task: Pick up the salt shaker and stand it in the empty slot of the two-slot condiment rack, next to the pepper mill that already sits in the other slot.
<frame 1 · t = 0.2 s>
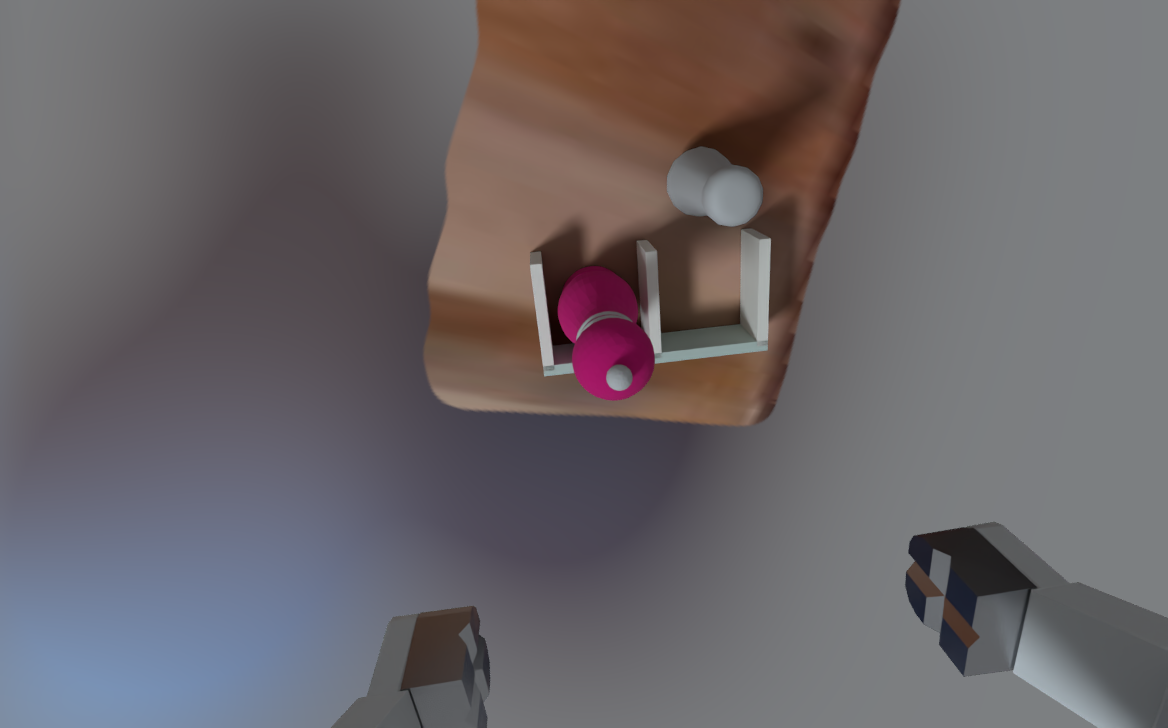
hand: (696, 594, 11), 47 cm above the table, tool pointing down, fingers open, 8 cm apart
condiment rack: (644, 291, 58), on the table
salt shaker: (692, 179, 54), on the table
pepper mill: (593, 296, 58), on the table
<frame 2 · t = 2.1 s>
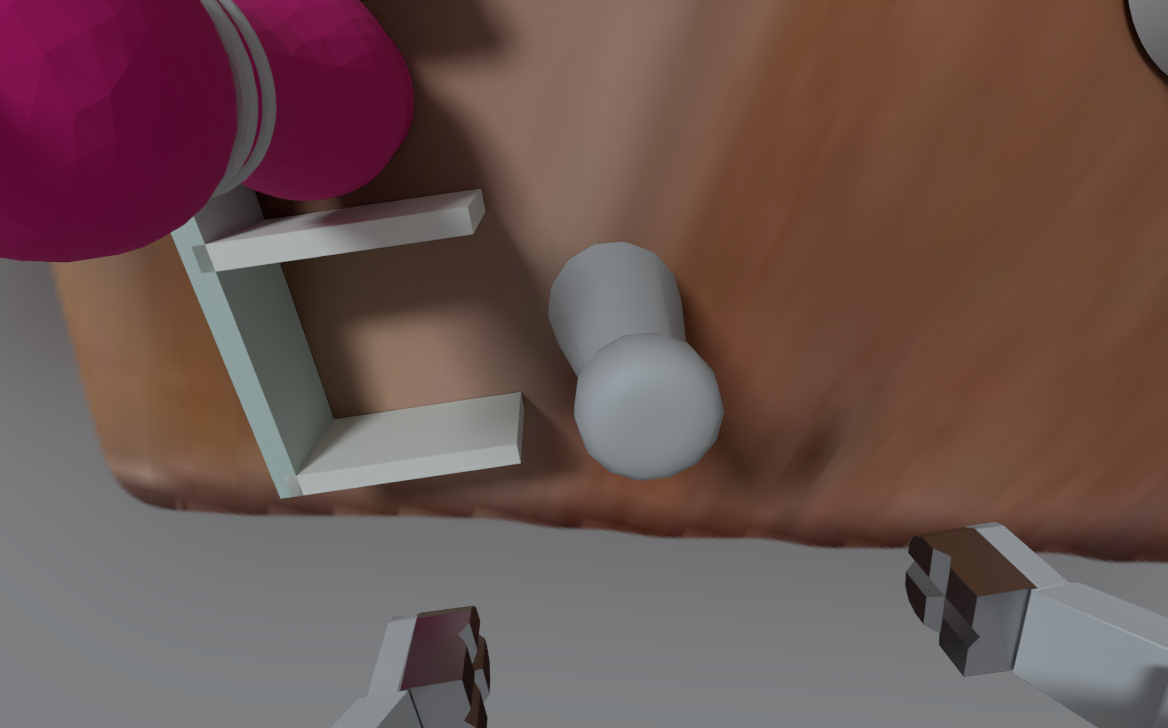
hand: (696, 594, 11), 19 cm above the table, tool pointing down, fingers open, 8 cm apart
condiment rack: (370, 216, 26), on the table
salt shaker: (608, 291, 28), on the table
pepper mill: (338, 92, 24), on the table
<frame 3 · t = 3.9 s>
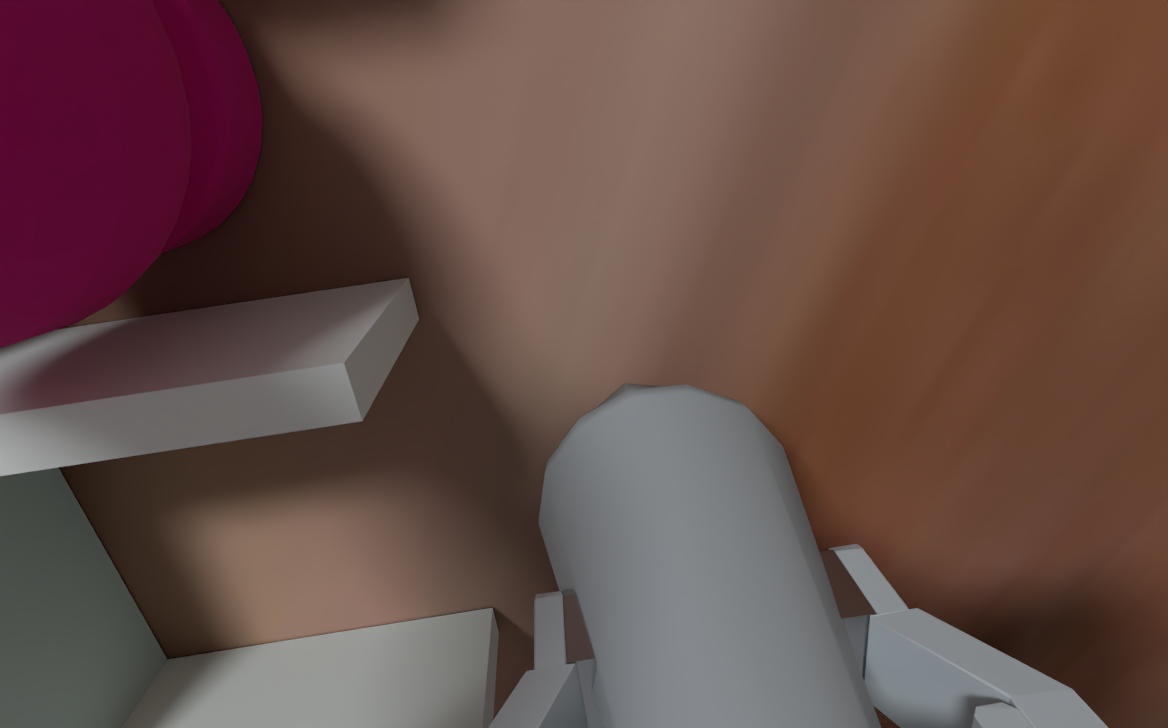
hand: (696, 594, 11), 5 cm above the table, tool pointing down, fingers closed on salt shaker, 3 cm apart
condiment rack: (196, 330, 14), on the table
salt shaker: (646, 447, 16), on the table, touching gripper
pepper mill: (104, 92, 12), on the table
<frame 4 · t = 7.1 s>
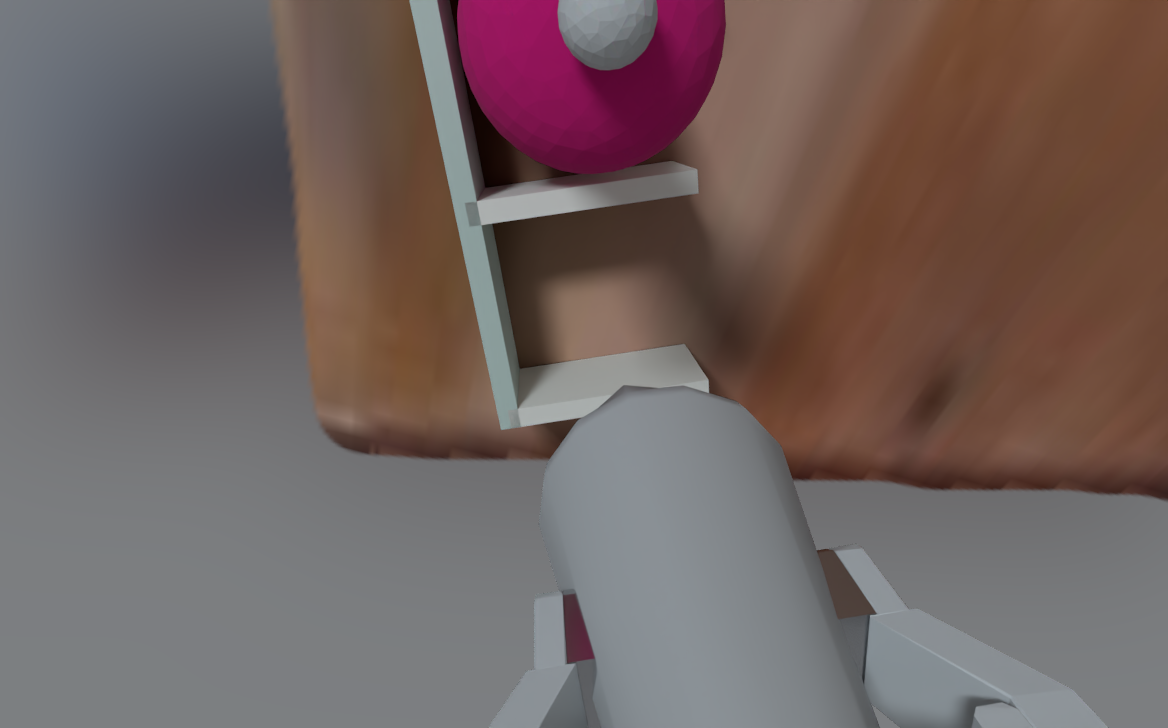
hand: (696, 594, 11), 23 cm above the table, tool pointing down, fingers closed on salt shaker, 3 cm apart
condiment rack: (575, 185, 30), on the table
salt shaker: (645, 448, 16), point 17 cm above the table, touching gripper
pepper mill: (561, 76, 28), on the table
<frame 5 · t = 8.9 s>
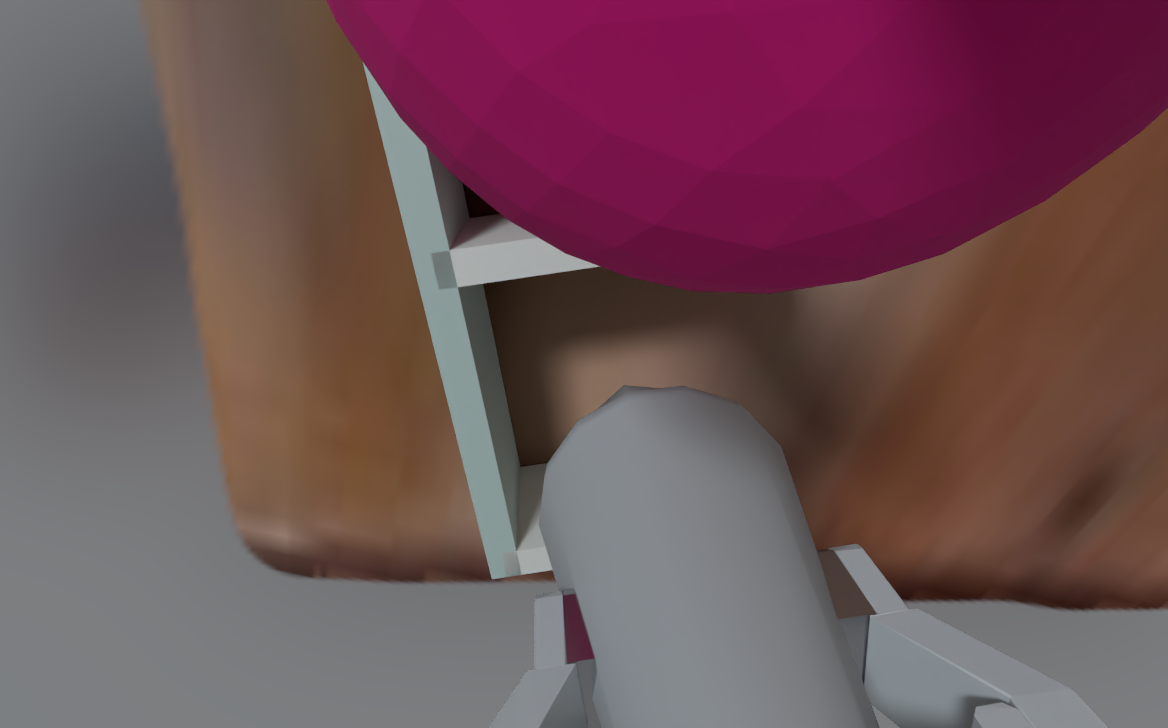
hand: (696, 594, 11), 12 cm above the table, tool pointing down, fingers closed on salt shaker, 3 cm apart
condiment rack: (603, 214, 20), on the table
salt shaker: (646, 448, 16), point 7 cm above the table, touching gripper
pepper mill: (583, 51, 19), on the table
when the fingers open (7 cm above the table, at t = 10.4 s): salt shaker drops 1 cm, resting in condiment rack.
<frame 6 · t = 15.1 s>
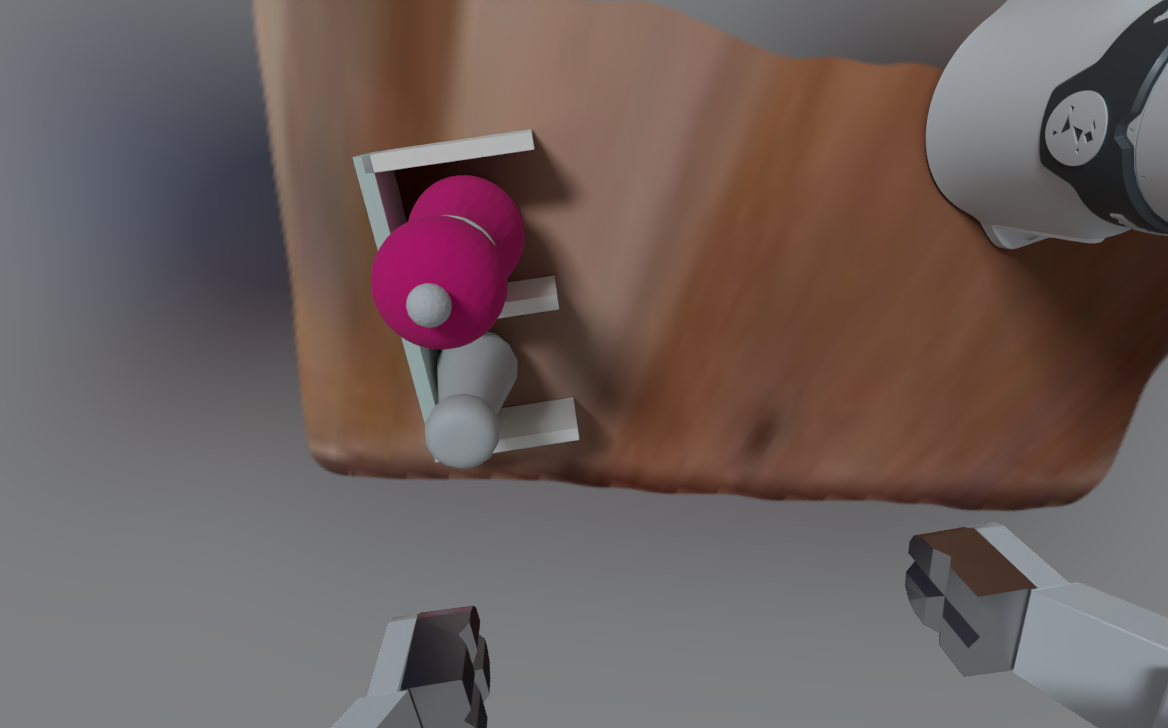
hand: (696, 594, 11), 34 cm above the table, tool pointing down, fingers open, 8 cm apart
condiment rack: (487, 292, 43), on the table
salt shaker: (480, 355, 46), resting in condiment rack
pepper mill: (474, 223, 42), on the table
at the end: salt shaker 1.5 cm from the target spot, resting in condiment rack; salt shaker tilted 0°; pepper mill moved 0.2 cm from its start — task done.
